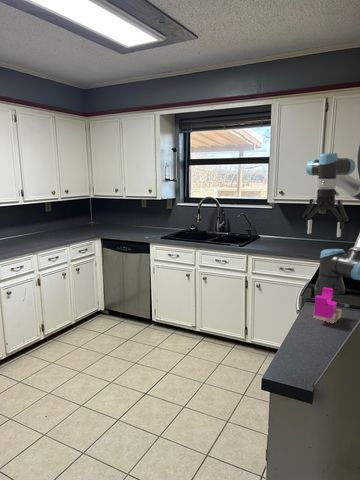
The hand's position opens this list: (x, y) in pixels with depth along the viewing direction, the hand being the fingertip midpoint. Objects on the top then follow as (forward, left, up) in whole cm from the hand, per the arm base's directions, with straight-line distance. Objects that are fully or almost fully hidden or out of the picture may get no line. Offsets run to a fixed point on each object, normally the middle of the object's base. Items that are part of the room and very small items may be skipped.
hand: (323, 235), depth 161 cm
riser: (+20, +12, -32) cm, 40 cm away
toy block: (+22, +12, -28) cm, 37 cm away
